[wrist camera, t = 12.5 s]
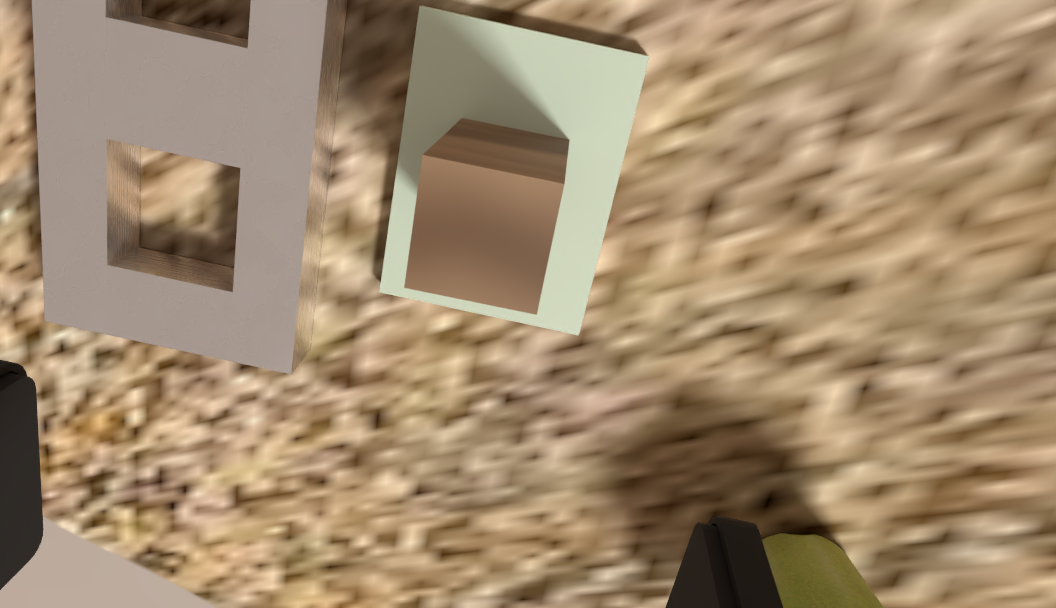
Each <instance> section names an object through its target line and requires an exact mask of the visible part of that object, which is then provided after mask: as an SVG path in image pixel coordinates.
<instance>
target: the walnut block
mask: <svg viewBox="0 0 1056 608" xmlns="http://www.w3.org/2000/svg"><path fill="white" fill-rule="evenodd" d="M568 149H569V140H568V139H563V138H558V137H553V136H548V135H543V134H538V133H534V132H529V131H524V130H519V129H514V128H509V127H504V126H499V125H494V124H490V123H485V122H480V121H475V120H470V119H465V118H461V119H460V120H459V121H458V122H457V123H456V124H455V125H454V126H453V127H452V128H451V129H450V130H449V131H447V132H446V133H445V134H444V135H443V136H442V137H441V138H440V139H439V140H438V141H437V142H436V143H435V144H434V145H432V146H431V147H430V148H429V149H428V150H427V151H426V152H425V153H424V154H423V155H422V161H421V169H420V176H419V183H418V191H417V198H416V205H415V212H414V220H413V227H412V234H411V241H410V249H409V256H408V263H407V271H406V278H405V285H404V288H407V289H412V290H417V291H422V292H427V293H432V294H437V295H442V296H447V297H451V298H456V299H461V300H466V301H471V302H476V303H481V304H486V305H491V306H496V307H501V308H506V309H510V310H515V311H520V312H525V313H530V314H535V315H537V311H538V307H539V302H540V297H541V293H542V288H543V283H544V278H545V274H546V269H547V264H548V259H549V255H550V250H551V245H552V241H553V236H554V231H555V226H556V222H557V217H558V212H559V208H560V203H561V198H562V193H563V189H564V184H565V175H566V166H567V158H568Z"/></svg>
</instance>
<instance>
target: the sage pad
mask: <svg viewBox="0 0 1056 608" xmlns="http://www.w3.org/2000/svg"><path fill="white" fill-rule="evenodd" d="M648 60H649V56H648V55H644V54H640V53H635V52H631V51H626V50H622V49H617V48H613V47H608V46H604V45H599V44H595V43H590V42H586V41H581V40H577V39H572V38H568V37H563V36H558V35H554V34H549V33H545V32H540V31H536V30H531V29H527V28H522V27H518V26H513V25H509V24H504V23H500V22H495V21H491V20H486V19H482V18H477V17H473V16H468V15H464V14H459V13H455V12H450V11H446V10H441V9H436V8H432V7H427V6H419V13H418V20H417V27H416V35H415V42H414V49H413V56H412V63H411V70H410V77H409V84H408V92H407V99H406V106H405V113H404V120H403V127H402V134H401V141H400V149H399V156H398V163H397V170H396V177H395V184H394V191H393V199H392V206H391V213H390V220H389V227H388V234H387V241H386V248H385V256H384V263H383V270H382V277H381V284H380V291H379V292H381V293H386V294H390V295H395V296H400V297H404V298H409V299H413V300H418V301H423V302H427V303H432V304H437V305H441V306H446V307H450V308H455V309H460V310H464V311H469V312H473V313H478V314H483V315H487V316H492V317H496V318H501V319H506V320H510V321H515V322H519V323H524V324H529V325H533V326H538V327H542V328H547V329H552V330H556V331H561V332H565V333H570V334H575V335H579V332H580V328H581V324H582V320H583V316H584V313H585V309H586V305H587V301H588V297H589V293H590V289H591V285H592V281H593V277H594V273H595V269H596V265H597V261H598V257H599V253H600V249H601V246H602V242H603V238H604V234H605V230H606V226H607V222H608V218H609V214H610V210H611V206H612V202H613V198H614V194H615V190H616V186H617V182H618V179H619V175H620V171H621V167H622V163H623V159H624V155H625V151H626V147H627V143H628V139H629V135H630V131H631V127H632V123H633V119H634V115H635V111H636V108H637V104H638V100H639V96H640V92H641V88H642V84H643V80H644V76H645V72H646V68H647V64H648ZM461 118H465V119H470V120H475V121H480V122H485V123H490V124H494V125H499V126H504V127H509V128H514V129H519V130H524V131H529V132H534V133H538V134H543V135H548V136H553V137H558V138H563V139H568V140H569V149H568V158H567V166H566V175H565V184H564V189H563V193H562V198H561V203H560V208H559V212H558V217H557V222H556V226H555V231H554V236H553V241H552V245H551V250H550V255H549V259H548V264H547V269H546V274H545V278H544V283H543V288H542V293H541V297H540V302H539V307H538V311H537V315H535V314H530V313H525V312H520V311H515V310H510V309H506V308H501V307H496V306H491V305H486V304H481V303H476V302H471V301H466V300H461V299H456V298H451V297H447V296H442V295H437V294H432V293H427V292H422V291H417V290H412V289H407V288H404V285H405V278H406V271H407V263H408V256H409V249H410V241H411V234H412V227H413V220H414V212H415V205H416V198H417V191H418V183H419V176H420V169H421V161H422V155H423V154H424V153H425V152H426V151H427V150H428V149H429V148H430V147H431V146H432V145H434V144H435V143H436V142H437V141H438V140H439V139H440V138H441V137H442V136H443V135H444V134H445V133H446V132H447V131H449V130H450V129H451V128H452V127H453V126H454V125H455V124H456V123H457V122H458V121H459V120H460V119H461Z"/></svg>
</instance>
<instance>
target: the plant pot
mask: <svg viewBox="0 0 1056 608" xmlns="http://www.w3.org/2000/svg"><path fill="white" fill-rule="evenodd" d="M762 542H763V545H764V548H765V552H766V555H767V558H768V561H769V564H770V567H771V570H772V574H773V577H774V580H775V583H776V586H777V589H778V592H779V595H780V599H781V602H782V605H783V608H884V607H883V606H882V604H881V603H880V601H879V600H878V599H877V597H876V596H875V595H874V593H873V592H872V590H871V589H870V588H869V586H868V585H867V584H866V582H865V581H864V579H863V578H862V576H861V575H860V573H859V572H858V570H857V569H856V568H855V566H854V565H853V563H852V562H851V561H850V559H849V558H848V556H847V555H846V553H845V552H844V551H843V550H842V549H841V548H840V547H838V546H837V545H836V544H835V543H833V542H831V541H830V540H828V539H826V538H824V537H821V536H818V535H814V534H811V535H793V534H785V533H779V534H775V535H771V536H769V537H766V538H764V539H762Z"/></svg>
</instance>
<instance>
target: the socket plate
mask: <svg viewBox="0 0 1056 608" xmlns="http://www.w3.org/2000/svg"><path fill="white" fill-rule="evenodd" d="M346 9H347V0H251V4H250V20H249V36H248V39H244V38H240V37H235V36H231V35H226V34H222V33H217V32H212V31H208V30H203V29H199V28H194V27H190V26H185V25H181V24H176V23H172V22H167V21H163V20H158V19H153V18H149V17H144V16H142V0H32V18H33V43H34V67H35V92H36V116H37V141H38V165H39V190H40V214H41V239H42V263H43V287H44V312H45V321H47V322H51V323H56V324H61V325H65V326H70V327H75V328H79V329H84V330H89V331H93V332H98V333H102V334H107V335H112V336H116V337H121V338H126V339H130V340H135V341H140V342H144V343H149V344H153V345H158V346H163V347H167V348H172V349H177V350H181V351H186V352H191V353H195V354H200V355H204V356H209V357H214V358H218V359H223V360H228V361H232V362H237V363H242V364H246V365H251V366H255V367H260V368H265V369H269V370H274V371H279V372H283V373H288V374H292V373H293V371H294V370H295V369H296V367H297V366H298V365H299V364H300V362H301V361H302V360H303V359H304V357H305V356H306V355H307V354H308V352H309V351H310V348H311V338H312V329H313V320H314V310H315V301H316V291H317V282H318V272H319V263H320V254H321V244H322V235H323V225H324V216H325V207H326V197H327V188H328V178H329V169H330V160H331V150H332V141H333V131H334V122H335V113H336V103H337V94H338V84H339V75H340V65H341V56H342V47H343V37H344V28H345V18H346ZM141 146H142V147H146V148H151V149H156V150H160V151H165V152H169V153H174V154H178V155H183V156H188V157H192V158H197V159H201V160H206V161H210V162H215V163H220V164H224V165H229V166H233V167H238V168H240V183H239V200H238V216H237V232H236V249H235V265H234V268H232V267H228V266H223V265H219V264H214V263H209V262H205V261H200V260H196V259H191V258H186V257H182V256H177V255H172V254H168V253H163V252H159V251H154V250H149V249H145V248H140V247H139V245H140V150H141Z"/></svg>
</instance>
